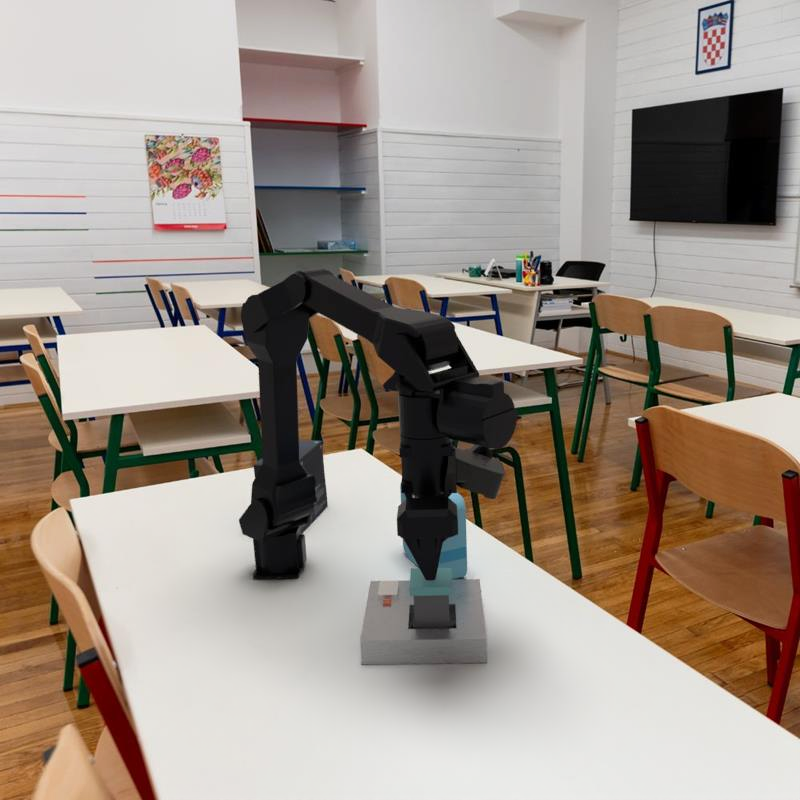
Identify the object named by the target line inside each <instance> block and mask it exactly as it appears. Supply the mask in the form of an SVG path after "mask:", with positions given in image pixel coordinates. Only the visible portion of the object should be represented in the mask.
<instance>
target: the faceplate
mask: <svg viewBox="0 0 800 800" xmlns="http://www.w3.org/2000/svg"><path fill="white" fill-rule="evenodd" d="M409 587H410V579H409V580H406V579H405V580H371V581H370V583H369V588H368V595H367V599H366V606H365V612H364V617H363V623H362V629H361V633H360V634H361V636H360V640H359V641H360V656H361V665H418V664H419V665H421V664H422V665H423V664H425V665H427V664H429V665H430V664H434V665H436V664H487V663H488V651H487V650H488V649H487V646H488V645H487V643H488V642H487V631H486V622H485V615H484V613H485V612H484V606H483V597H482V588H481V587H482V586H481V581H480V579H479V578H476V579H475V578H471V579H470V578H469V579H468V578H467V579H466V578H465V579H464V578H463V579H460V578H458V579H453V580H452V595H449V618H450V629H415V619H414V596H410V589H409ZM451 627H452V628H451ZM453 627H454V628H453Z"/></svg>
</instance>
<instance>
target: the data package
mask: <svg viewBox="0 0 800 800" xmlns="http://www.w3.org/2000/svg"><path fill="white" fill-rule="evenodd" d="M399 487H400V504H401V503H402V502H403V501H404V500H405V499H406V497H405V494H404V493H401V483H400V486H399ZM448 498H449V499H451V500H452V501H453V502H454V503H455V504H456V505H457V514H458V535H455V536H453V537H450V538H448V539H446V540H445V541H444V542H443V545H442V550H441V554H440V560H439V565H438V568H451V572H452V580H458V579H460V578H464V577H465V576H467V574H468V549H467V548H468V547H467V543H468V541H467V540H468V539H467V509H466V503H465V500H464V497H463V496H462V495H461V494H460V493H459V492H457V493H452V494H451V495H450V496H449V497H448ZM402 547H403V550H404V554H405V556H406V557H407V558H408V559H409V560H410V561H411V562H412V563H413V564H414V565H415V566H416V568H419V567H418V565H417V563H416V561H415V559H414V557H413V555H412V553H411V552H410V550H409V548H408V546H407V545H406V543H405V541H404V540H403V539H402Z"/></svg>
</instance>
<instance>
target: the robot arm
mask: <svg viewBox="0 0 800 800" xmlns="http://www.w3.org/2000/svg"><path fill="white" fill-rule="evenodd" d="M240 310H241V311H240V321H241V324H242V331H243V338H244V342H245V344H246V345H247V346H248V348H249V349H250V351H251V352H252V354H253V356H254V357H255V358H256V360H257V365H258V386H259V389H258V390H259V391H258V392H259V406H260V407H259V410H260V411H259V412H260V427H261V428H260V429H261V430H260V431H261V433H260V435H261V453H262V456H261V457H262V458H263V462H262V466H261V468H260V469H259V471H258V473H257V475H256V477H255V476H254V479H253V481H252V485H251V495H250V496H251V497H250V504H249V505H248V507H247V508H246V509H245V510H244V512H243V514H242V515H241V516H240V518H239V519H238V524H239V526H240V530H241V533H242V535H244V536H247V537H248V538H251V539H252V543H253V544H252V545H253V553H254V563H255V569H254V572H253V573H252V579H255V580H258V579H259V580H262V579H263V580H264V579H267V580H268V579H296V578H297V579H298V578H299V577H300V575H301V574H302V573H301V572H302V571H303V570H302V569H304V568H305V565H306V562H307V561H308V560H307V547H306V536H305V534H304V533H302V534H301V530H300V526H301V525H304V524H308V523H309V522H310V517H311V512H312V511H313V508H314V503H315V502H317V498H316V494H315V484H316V479H315V477H314V476H313V475H309V474H308V473H307V472H306V470H305V469H304V467H303V466H302V465H301V463H300V457H299V440H300V437H299V436H300V435H299V434H300V430H299V428H300V427H299V400H298V399H299V397H298V396H299V395H298V391H299V390H298V367H297V366H298V362H297V361H298V358H299V356H300V354H301V352H302V350H303V348H304V346H305V345H306V343H307V341H308V338H309V337H308V336H309V327H310V320H311V319H313V318H314V317H315V316H316V315H318V314H320V315H322V316H324V317H326V318H327V319H329V320H331V321H332V322H335V323H336V324H338V325H340V326H341V327H343V328H345V329H347V330H349V331H350V332H352V333H354V334H356V335H357V336H359V337H361V338H363V339H365V340H366V341H368V342H369V343H370V344H372V346H373V348H374V351H375V353H376V355H377V358H379V359H380V360H381V361H382V362H383V363H385V364H386V365H387V366H388V367H389V368H390V369H392V370H393V371H394V372H393V374H392V375H391V376H390V377H389V378H388V379H387V380H386V381H385V382H383V384H382V388H383V389H384V390H387V391H393V392H397V396H398V397H397V398H398V399H397V403H398V421H399V424H398V425H399V440H400V441H399V448H398V449H399V450H398V451H399V458H400V461H401V462H400V463H401V464H400V465H401V482H400V484H401V491H400V494H401V493H404V494H405V497H406V499H405V500H404V501H403V502H402V503H401V502H400V504H399V505H398V506H397V514H396V529H397V530H396V532H397V536H398V537H399V538H401V539H402V541H403V540H404V541H405V543H406V545H407V546H408V548H409V550H410V552H411V553H412V555H413V557H414V559H415V561H416V563H417V565H418V567H419V568H420V570H421V572H422V574H423V576H424V578H425V580H427V581H432V580H435V579H436V575H437V570H438V565H439V560H440V554H441V550H442V545H443V542H444V541H445V540H446V539H448V538H450V537H453V536H455V535H458V514H457V505H456V504H455V503H454V502H453V501H452V500H451V499H449V498H448V497H449V496H450V495H451V494H452V493H458V491H457V489H458V488H457V487H459V488H461V489H463V490H467V491H469V492H473V493H475V494H479V495H482V496H483V497H484V498H486V499H490V500H496V499H497V497H498V494H499V491H500V488H501V487H502V482H503V481H504V477H505V475H506V470H505V466H504V463H503V462H501V460H500V458H499V457H495V458H493V453H492V449H493V450H500V449H502V448H504V447H506V446H507V444H508V443H509V442H510V441H511V440H512V438H513V436H514V433H515V430H516V427H517V421H518V410H517V409H516V408H515V404H514V401H513V399H512V397H511V396H510V395H509V394H507V393H505V383H504V381H503V380H498V379H489V380H483V379H479V377H480V373H479V371H478V369H477V367H476V365H475V364H474V361H473V360H472V359H471V357H470V355H469V354H468V352H467V350H466V349H465V346H464V345H463V343H462V341H461V340H460V338H459V337H458V334H457V332H456V330H455V329H456V326H455V324H454V323H453V322H452V321H451V320H450V319H448V317H445V316H443V315H441V314H435V313H431V312H428V311H424V310H419V309H418V310H416V309H408V308H401V307H397V306H394V305H392V304H390V303H388V302H386V301H384V300H382V299H380V298H378V297H376V296H374V295H372V294H370V293H368V292H366V291H364V290H362V289H361V288H359V287H357V286H355V285H353V284H350V283H349V282H347V281H345V280H343V279H341V278H339V277H337V276H335V275H334V273H332V272H331V271H330V270H328V269H326V268H322V267H321V268H311V269H304V270H303V269H302V270H297V271H295V272H294V273H292V274H290V275H288V277H286V278H285V279H284V280H282V281H281V282H279V283H277V284H275V285H272V286H271V287H269V288H266V289H265V290H263V291H261V292H259V293H257V294H251V295H250V296H248V297H247V299H246V300H245V302H243V303H242V305H241V309H240ZM448 366H449V367H450V368H447V367H448ZM443 368H446V369H443ZM439 369H442V370H439ZM435 370H436V371H435ZM437 370H438V371H437ZM432 371H435V372H433V373H430V372H432ZM456 441H457V442H461V443H465V444H470V445H471V444H472V446H471V447H470V448H467V447H466V448H464V449H460V448H458V447H456ZM418 567H417V568H418Z"/></svg>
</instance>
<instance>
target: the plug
mask: <svg viewBox="0 0 800 800" xmlns="http://www.w3.org/2000/svg"><path fill="white" fill-rule="evenodd" d="M409 573H410V575H409V577H410V578H409V580H410V587H409V589H410V596H414V619H415V627H414V629H450V628H451V627H450V618H449V595H452V572H451V568H438V570H437V575H436V579H435V580H432V581H427V580H425V578H424V576H423V574H422V572H421V570H420V568H418V567H416V568H410V572H409Z"/></svg>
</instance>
